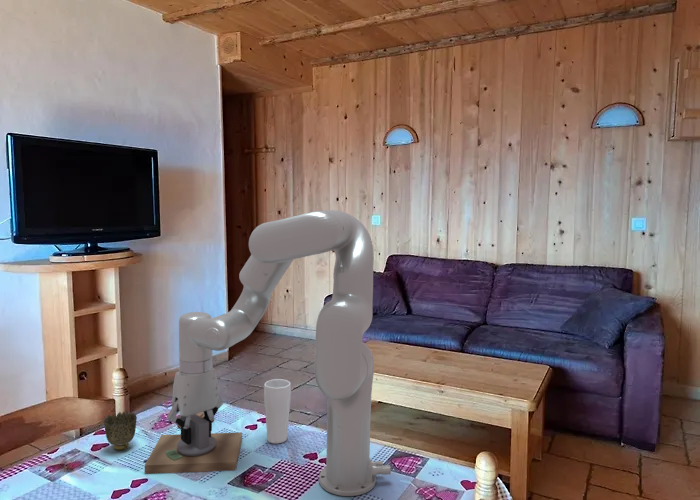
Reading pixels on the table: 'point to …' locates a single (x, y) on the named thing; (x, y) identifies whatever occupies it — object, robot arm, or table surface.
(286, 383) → the drinking glass
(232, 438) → the wooden board
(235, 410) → the table surface
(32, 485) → the table surface
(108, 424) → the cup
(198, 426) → the tuning knob
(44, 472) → the table surface
